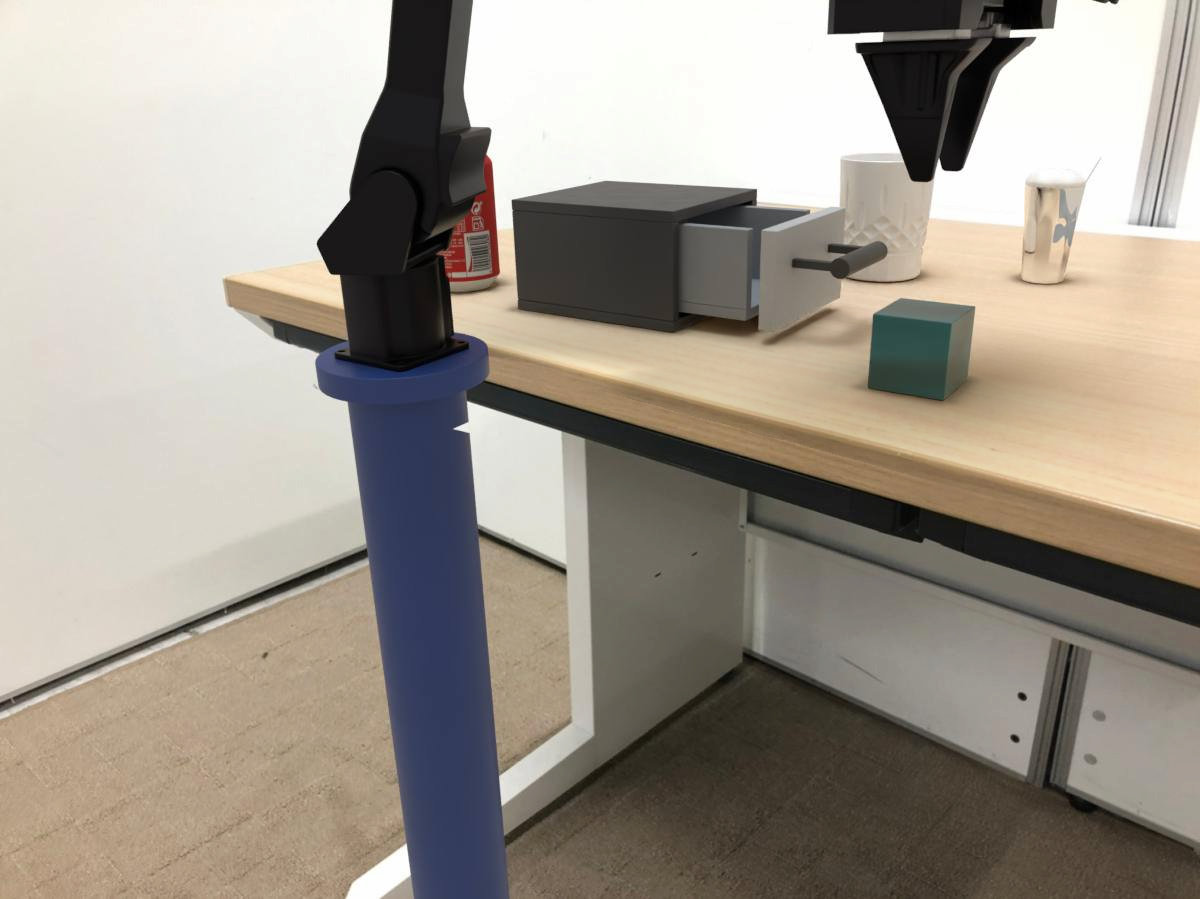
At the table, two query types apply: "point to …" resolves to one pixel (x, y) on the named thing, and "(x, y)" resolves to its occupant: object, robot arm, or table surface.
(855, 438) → the table surface
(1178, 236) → the table surface
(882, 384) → the block
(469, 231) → the beverage can
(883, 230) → the white cup
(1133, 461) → the table surface
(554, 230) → the cabinet
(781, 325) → the drawer
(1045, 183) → the milkshake
